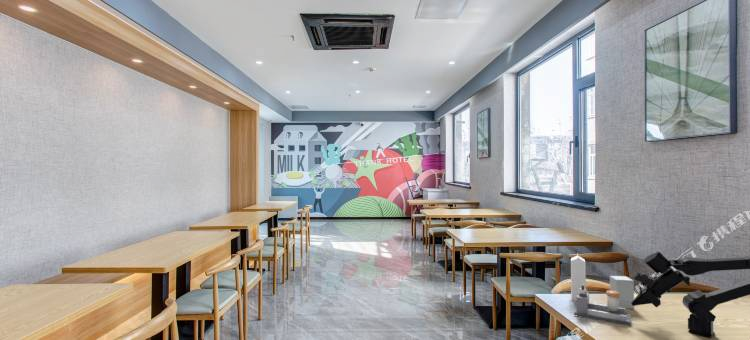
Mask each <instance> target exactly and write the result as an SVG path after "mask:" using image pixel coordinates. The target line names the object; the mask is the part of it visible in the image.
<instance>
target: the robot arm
mask: <svg viewBox="0 0 750 340" xmlns="http://www.w3.org/2000/svg"><path fill="white" fill-rule="evenodd" d="M643 262H644V264H645V265H647V266H648V267H649V268H650V269H651V270H652V271H653V272H654V273H655V274H660V275H658V276H657V275H656V276H655V275H654V276H653V277H652V276H650V275H648V274H647V273H644V272H643V271H640V270H636V272H634V273H635V274H634V275H633V280H635V281H637V282H639V284H640V285H642V286H643V287H642V286H639V293H638V294H637V295H636V297H634V300H633V301H632V303H631V304H632V305H633V306H634V307H635V306H641V305H642V306H643V305H651V304H652V305H653V306H654V307H655V308H658V307H660V306H661V303H662V302H661V299H662V296H663V295H665V294H666V293H671V292H672V289H674V288H676V287H677V286H679V285H681V283H685V284H686V285H687V286H690V285H691V284H690V283H691V282H690V279H691V277H690V276H692V277H693V276H698V275H703V274H706V273H708V272H716V271H717V272H718V271H735V270H737V271H738V270H750V256H749V255H748V256H741V257H725V258H709V259H705V258H704V259H703V258H697V257H687V256H686V257H685V256H682V257H679V258H678V259H668V258H666V256H664V254H663V253H661V252H660V251H656V252H653V253H651V254H649V255H647V256H646V257H644V260H643ZM674 269H675V270H674ZM684 274H685V275H684ZM746 296H750V278H749V279H747V280H744V281H741V282H738V283H735V284H731V285H728V286H725V287H722V288H719V289H717V290H716V289H715V290H713V291H710V292H702V291H701V290H699V289H696V290H694V291H692V292H686V294H685V295H684V296H683V298H682V304H683V306H684V307H685V308H686V309H687V310H688V312H689V313H690V315H689V317H688V318H687V330H688V331H687V332H688V333H691V334H694V335H699V336H702V337H705V338H712V337H714V335H715V331H714V322H715V320H716V318H717V316H716V315H714V314H713V313H712V312H711V311H713V310H714V309H715V308H716V307H717V306H719V305H721V304H725V303H728V302H731V301H734V300H738V299H740V298H744V297H746Z"/></svg>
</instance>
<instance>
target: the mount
mask: <svg viewBox="0 0 750 340" xmlns="http://www.w3.org/2000/svg"><path fill="white" fill-rule="evenodd" d="M574 315H577V316H576V317H579V316H581V317H580V318H584V317H586V318H587V319H591V320H595V321H602V322H606V323H607V322H608V323H612V324H618V325H623V326H629V327H631V326H632V317H631V314H630V313H627V308H619V314H615V313H609V312H607V304H606V305H605V304H600V303H592V302H590V292H588V291H587V296H581V295H579V292H578V295H577V301H576V306H575V309H574V311H573V316H574Z"/></svg>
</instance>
